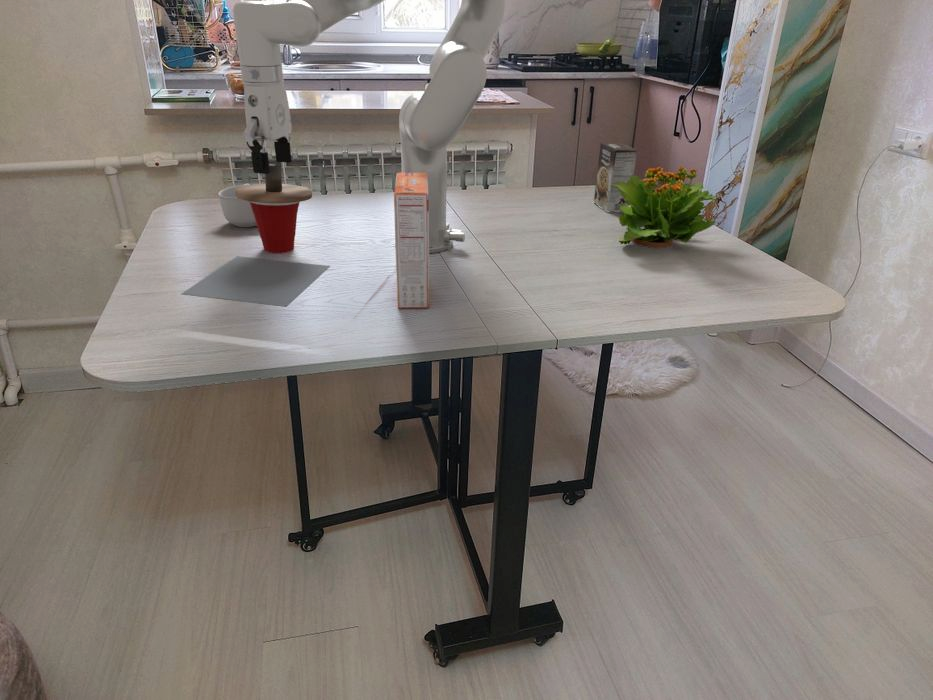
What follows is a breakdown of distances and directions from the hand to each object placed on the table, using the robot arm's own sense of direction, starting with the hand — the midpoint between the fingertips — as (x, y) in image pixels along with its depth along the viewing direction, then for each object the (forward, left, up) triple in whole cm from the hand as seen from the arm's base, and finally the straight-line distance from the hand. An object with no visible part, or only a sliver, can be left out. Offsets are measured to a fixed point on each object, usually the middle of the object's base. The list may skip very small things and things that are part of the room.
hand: (273, 167), depth 134 cm
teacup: (+16, -17, -18) cm, 30 cm away
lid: (0, 0, -6) cm, 6 cm away
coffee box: (-68, -56, -18) cm, 90 cm away
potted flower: (-78, -31, -18) cm, 85 cm away
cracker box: (-33, +14, -18) cm, 40 cm away
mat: (-4, +17, -18) cm, 25 cm away
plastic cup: (0, 0, -18) cm, 18 cm away
